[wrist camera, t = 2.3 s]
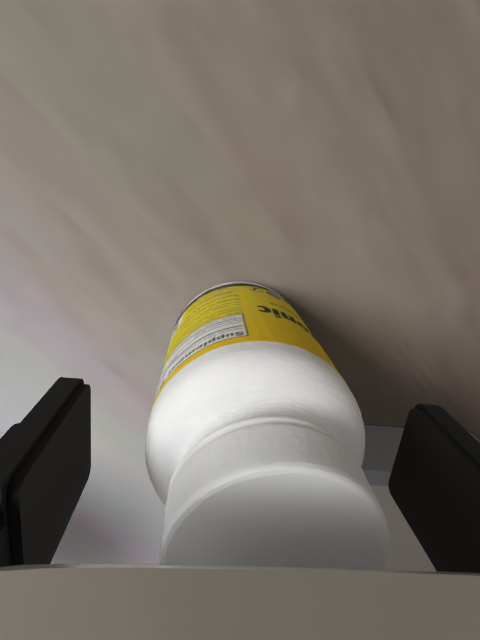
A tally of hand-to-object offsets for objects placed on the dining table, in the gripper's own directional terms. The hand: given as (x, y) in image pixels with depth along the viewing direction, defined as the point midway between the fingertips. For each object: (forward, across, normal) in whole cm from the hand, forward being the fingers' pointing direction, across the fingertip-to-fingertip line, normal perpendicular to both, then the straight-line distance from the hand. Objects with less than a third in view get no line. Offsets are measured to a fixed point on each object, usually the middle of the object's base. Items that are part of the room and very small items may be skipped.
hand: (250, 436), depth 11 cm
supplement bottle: (+6, 0, -1) cm, 6 cm away
